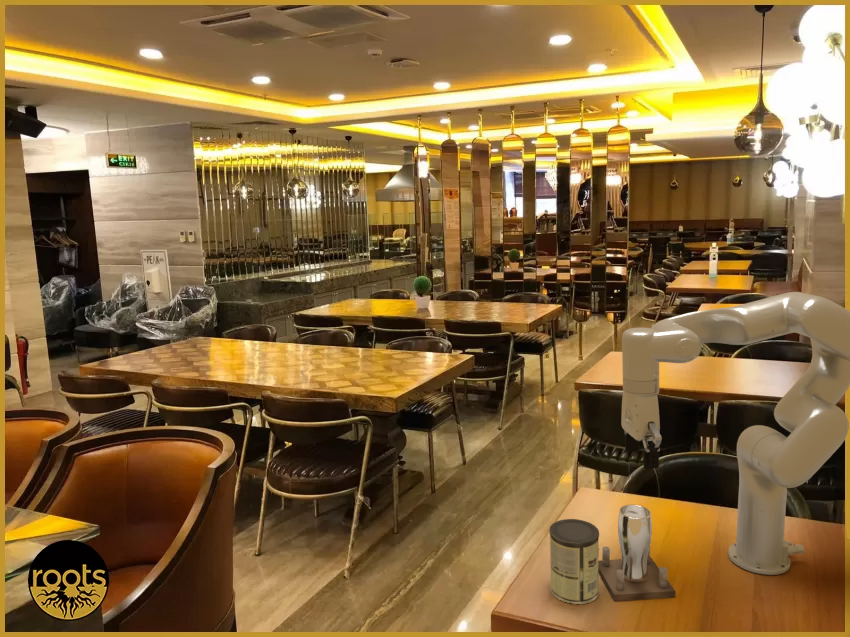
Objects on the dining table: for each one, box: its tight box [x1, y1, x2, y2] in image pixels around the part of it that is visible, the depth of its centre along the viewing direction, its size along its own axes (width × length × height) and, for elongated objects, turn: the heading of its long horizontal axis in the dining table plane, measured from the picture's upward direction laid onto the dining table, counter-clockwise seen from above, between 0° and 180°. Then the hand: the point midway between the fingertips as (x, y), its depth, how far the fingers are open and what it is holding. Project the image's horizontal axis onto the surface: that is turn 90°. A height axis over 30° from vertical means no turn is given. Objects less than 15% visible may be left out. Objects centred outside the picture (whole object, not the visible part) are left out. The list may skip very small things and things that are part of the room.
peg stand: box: [598, 546, 676, 602], centre depth 140 cm, size 13×13×6 cm
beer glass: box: [617, 504, 653, 583], centre depth 139 cm, size 7×7×15 cm
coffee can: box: [548, 518, 600, 605], centre depth 137 cm, size 10×10×14 cm
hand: (641, 459), depth 142 cm, fingers open, 9 cm apart
